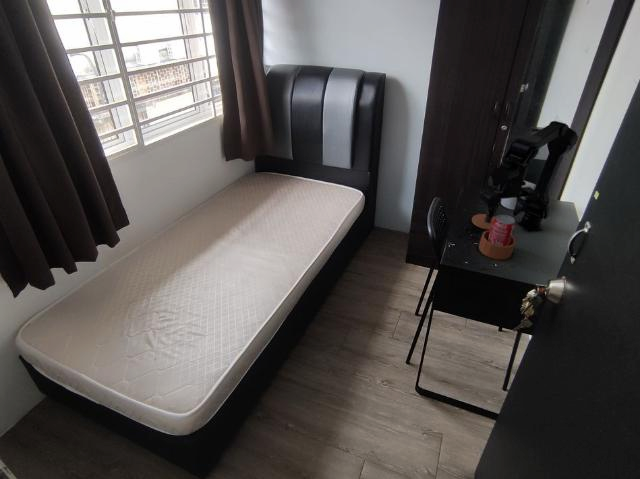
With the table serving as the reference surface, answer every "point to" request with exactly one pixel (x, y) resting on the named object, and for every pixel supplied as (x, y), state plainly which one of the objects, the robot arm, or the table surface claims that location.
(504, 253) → the pot
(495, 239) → the soda can
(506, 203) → the toilet tissue
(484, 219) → the pot lid
